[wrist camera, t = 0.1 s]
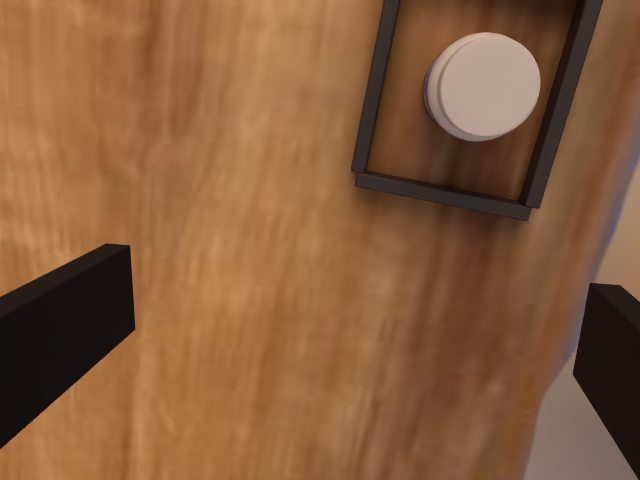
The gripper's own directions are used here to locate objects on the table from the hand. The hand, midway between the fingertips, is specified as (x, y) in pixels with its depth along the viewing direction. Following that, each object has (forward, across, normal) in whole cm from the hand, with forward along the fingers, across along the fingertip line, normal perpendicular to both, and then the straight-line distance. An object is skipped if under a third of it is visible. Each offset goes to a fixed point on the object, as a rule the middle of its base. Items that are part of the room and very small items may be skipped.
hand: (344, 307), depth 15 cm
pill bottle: (+17, +5, +6) cm, 19 cm away
